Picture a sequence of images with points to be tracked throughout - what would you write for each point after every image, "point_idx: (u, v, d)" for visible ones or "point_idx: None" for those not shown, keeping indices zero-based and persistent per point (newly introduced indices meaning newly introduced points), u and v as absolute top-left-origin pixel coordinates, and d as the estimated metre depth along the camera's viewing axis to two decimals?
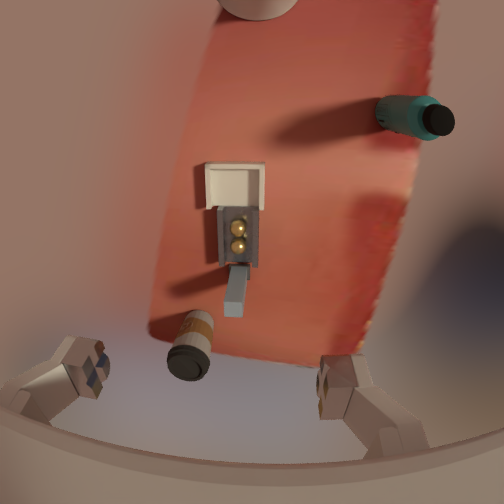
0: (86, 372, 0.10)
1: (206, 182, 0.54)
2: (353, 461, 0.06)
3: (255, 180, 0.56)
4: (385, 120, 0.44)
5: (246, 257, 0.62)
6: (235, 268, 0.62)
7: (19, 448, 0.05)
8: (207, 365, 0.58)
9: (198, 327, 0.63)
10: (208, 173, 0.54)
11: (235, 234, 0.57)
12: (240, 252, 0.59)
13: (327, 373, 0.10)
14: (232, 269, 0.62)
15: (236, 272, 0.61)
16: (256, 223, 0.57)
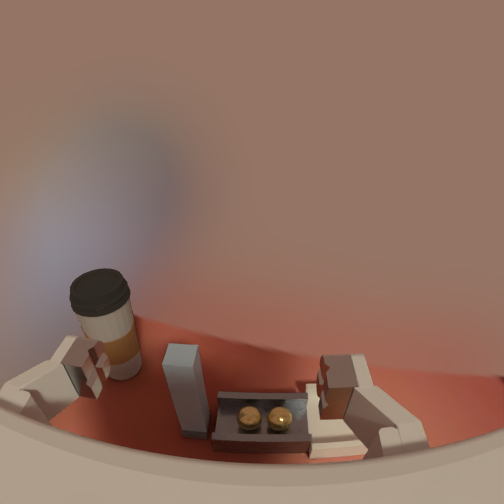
0: (86, 372, 0.10)
1: None
2: (353, 461, 0.06)
3: None
4: None
5: (223, 432, 0.34)
6: (208, 414, 0.35)
7: (19, 448, 0.05)
8: (86, 308, 0.35)
9: (130, 342, 0.40)
10: None
11: (274, 410, 0.34)
12: (243, 415, 0.33)
13: (327, 373, 0.10)
14: (208, 409, 0.36)
15: (206, 409, 0.34)
16: (290, 439, 0.31)
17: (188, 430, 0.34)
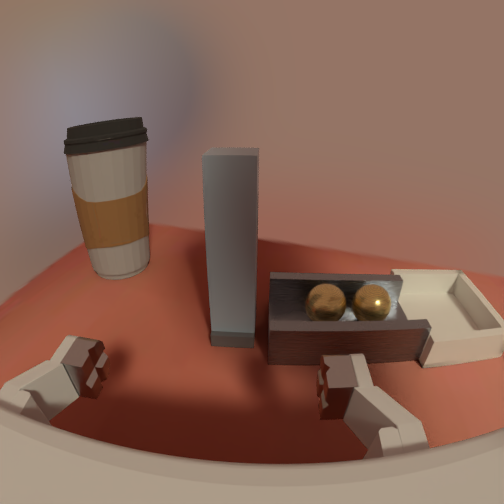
0: (86, 372, 0.10)
1: (436, 270, 0.27)
2: (353, 461, 0.06)
3: None
4: None
5: None
6: None
7: (19, 448, 0.05)
8: (86, 139, 0.23)
9: (138, 210, 0.29)
10: (451, 272, 0.27)
11: (365, 287, 0.22)
12: (319, 294, 0.22)
13: (327, 373, 0.10)
14: None
15: None
16: (400, 326, 0.19)
17: (223, 330, 0.22)
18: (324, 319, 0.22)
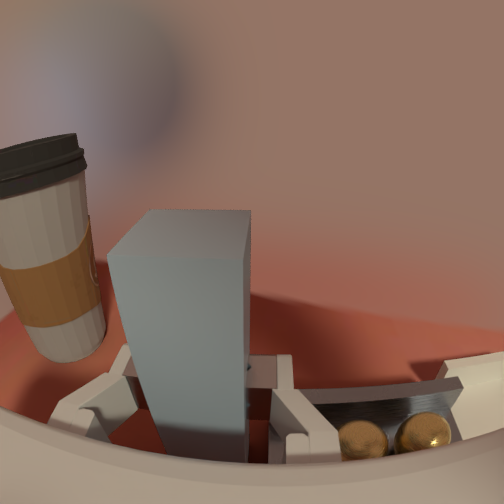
0: None
1: (497, 354, 0.17)
2: (353, 461, 0.06)
3: None
4: None
5: None
6: None
7: (19, 448, 0.05)
8: None
9: (76, 277, 0.18)
10: None
11: (418, 422, 0.12)
12: (350, 447, 0.11)
13: (247, 372, 0.10)
14: None
15: (247, 437, 0.12)
16: None
17: None
18: None
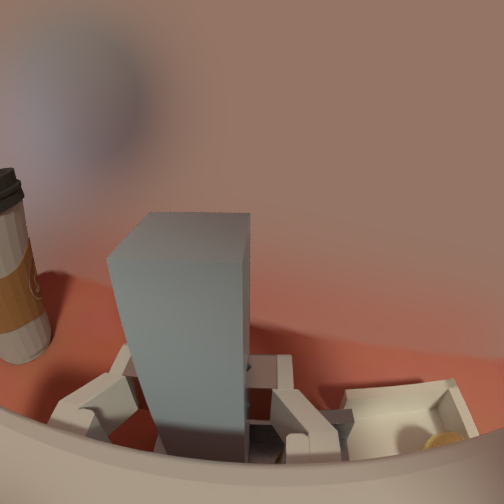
0: None
1: (415, 385, 0.18)
2: (353, 461, 0.06)
3: None
4: None
5: None
6: (248, 448, 0.13)
7: (19, 448, 0.05)
8: None
9: (17, 293, 0.19)
10: (437, 387, 0.17)
11: (436, 444, 0.13)
12: None
13: (247, 372, 0.10)
14: None
15: None
16: None
17: None
18: None
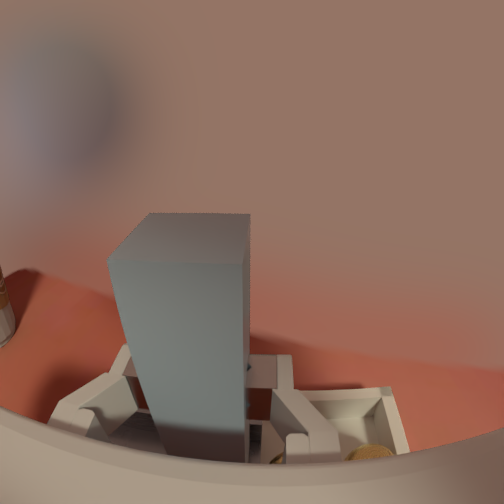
0: None
1: (343, 391, 0.18)
2: (353, 461, 0.06)
3: None
4: None
5: None
6: (248, 448, 0.13)
7: (19, 448, 0.05)
8: None
9: None
10: (368, 395, 0.17)
11: (362, 454, 0.13)
12: None
13: (247, 372, 0.10)
14: None
15: None
16: None
17: None
18: None
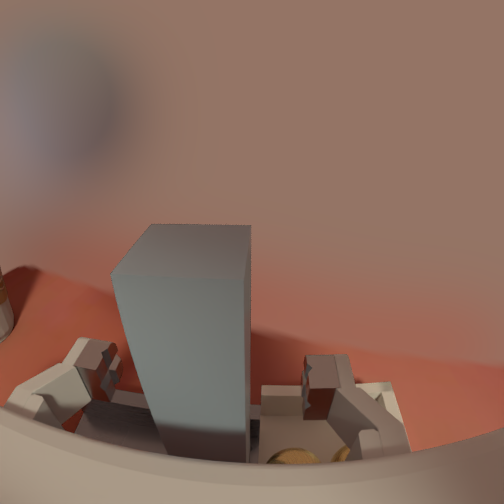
0: (100, 374, 0.10)
1: None
2: (353, 461, 0.06)
3: None
4: None
5: None
6: None
7: (19, 448, 0.05)
8: None
9: None
10: (368, 390, 0.17)
11: (339, 457, 0.13)
12: None
13: (309, 373, 0.10)
14: (249, 439, 0.14)
15: (248, 442, 0.13)
16: None
17: None
18: None
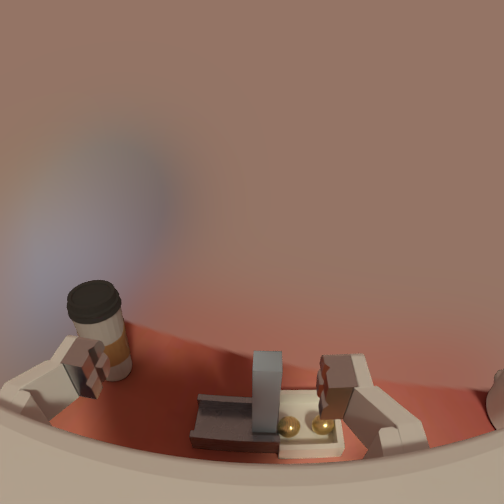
0: (86, 372, 0.10)
1: (313, 390, 0.42)
2: (353, 461, 0.06)
3: None
4: None
5: (201, 431, 0.37)
6: None
7: (19, 448, 0.05)
8: (81, 316, 0.38)
9: (121, 347, 0.44)
10: None
11: (319, 418, 0.37)
12: (278, 430, 0.37)
13: (327, 373, 0.10)
14: None
15: None
16: (260, 439, 0.34)
17: (258, 432, 0.36)
18: (289, 437, 0.36)
